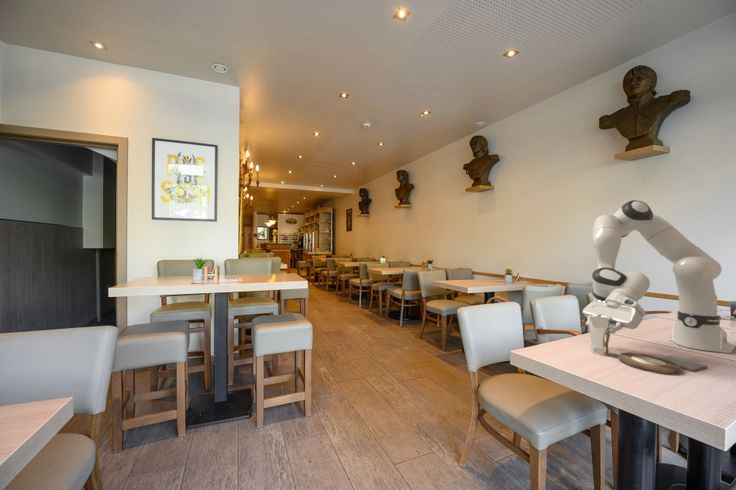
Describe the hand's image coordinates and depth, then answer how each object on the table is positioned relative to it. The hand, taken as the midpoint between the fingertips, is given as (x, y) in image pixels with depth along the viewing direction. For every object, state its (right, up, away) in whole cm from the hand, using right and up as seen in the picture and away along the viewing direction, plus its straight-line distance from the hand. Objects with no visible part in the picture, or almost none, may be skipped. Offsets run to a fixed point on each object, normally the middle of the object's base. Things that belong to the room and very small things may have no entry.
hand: (598, 328), depth 118 cm
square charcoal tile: (+21, -10, -12) cm, 26 cm away
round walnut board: (+8, -9, -12) cm, 17 cm away
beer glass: (0, -10, 0) cm, 10 cm away
